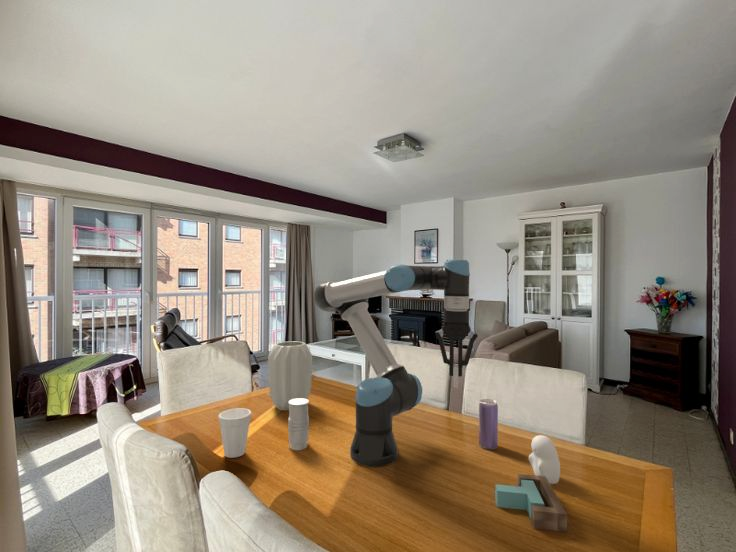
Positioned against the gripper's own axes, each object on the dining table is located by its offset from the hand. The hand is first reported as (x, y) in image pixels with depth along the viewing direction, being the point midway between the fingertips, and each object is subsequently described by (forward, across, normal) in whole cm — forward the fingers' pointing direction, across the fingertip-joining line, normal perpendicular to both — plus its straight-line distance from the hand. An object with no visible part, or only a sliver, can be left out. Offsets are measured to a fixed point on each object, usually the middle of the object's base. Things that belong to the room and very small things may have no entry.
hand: (455, 386), depth 115 cm
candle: (+24, -51, -1) cm, 57 cm away
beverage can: (+24, +11, +14) cm, 30 cm away
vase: (+24, -70, +34) cm, 82 cm away
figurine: (+23, +25, -3) cm, 34 cm away
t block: (+23, +15, -18) cm, 33 cm away
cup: (+24, -69, -11) cm, 73 cm away
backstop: (+23, +21, -19) cm, 36 cm away
